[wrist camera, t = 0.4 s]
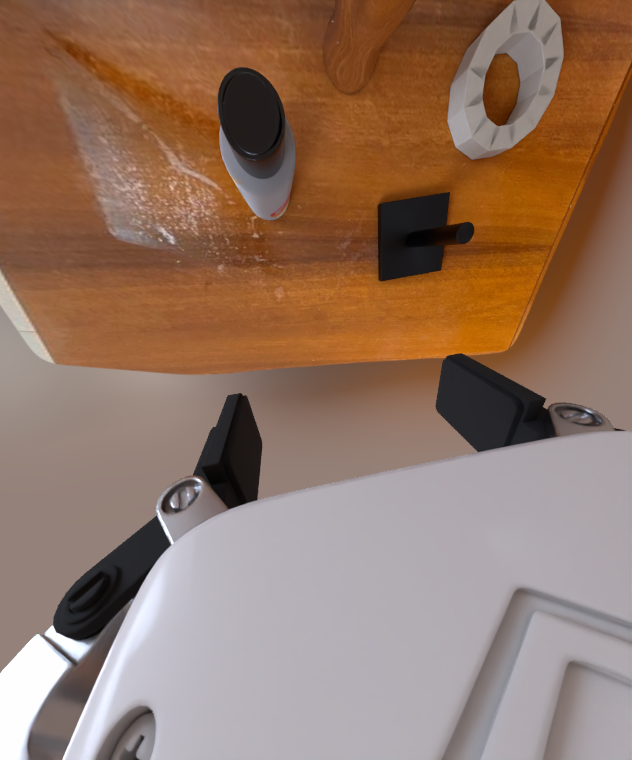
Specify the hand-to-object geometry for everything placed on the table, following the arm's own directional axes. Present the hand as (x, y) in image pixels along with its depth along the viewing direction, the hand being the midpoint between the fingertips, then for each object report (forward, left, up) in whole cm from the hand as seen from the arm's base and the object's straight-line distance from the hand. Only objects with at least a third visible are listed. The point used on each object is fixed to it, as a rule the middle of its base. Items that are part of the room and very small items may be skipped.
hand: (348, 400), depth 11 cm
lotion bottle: (-14, -2, -30) cm, 33 cm away
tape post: (-6, +18, -30) cm, 35 cm away
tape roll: (-20, +28, -30) cm, 46 cm away
